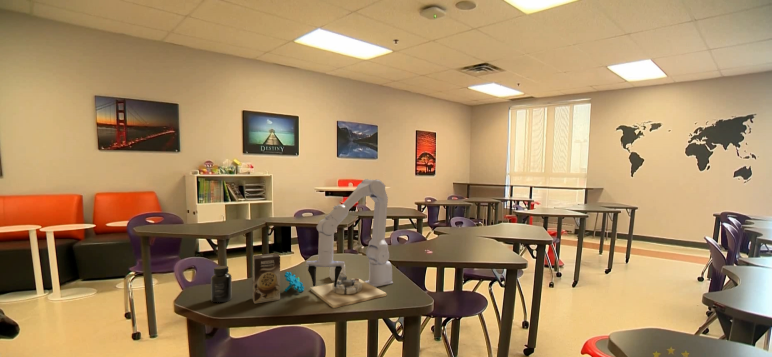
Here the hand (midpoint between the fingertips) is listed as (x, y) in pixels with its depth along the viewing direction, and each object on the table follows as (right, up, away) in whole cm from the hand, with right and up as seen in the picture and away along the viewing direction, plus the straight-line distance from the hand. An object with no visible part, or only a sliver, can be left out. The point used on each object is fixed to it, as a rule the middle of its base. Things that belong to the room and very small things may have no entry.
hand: (324, 285), depth 132 cm
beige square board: (+9, -3, +1) cm, 9 cm away
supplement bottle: (-37, -3, -6) cm, 37 cm away
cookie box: (-21, -3, -5) cm, 22 cm away
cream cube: (+2, -3, +20) cm, 21 cm away
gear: (-13, -3, +4) cm, 14 cm away
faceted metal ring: (+8, -2, +4) cm, 9 cm away
